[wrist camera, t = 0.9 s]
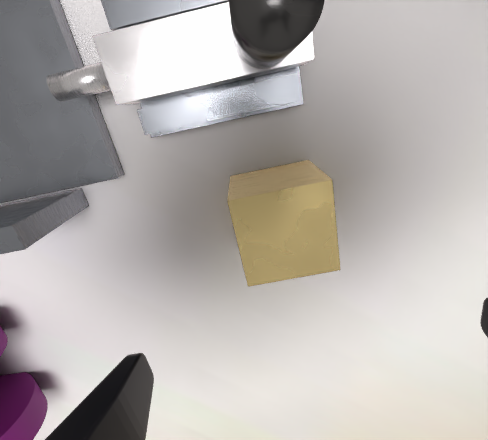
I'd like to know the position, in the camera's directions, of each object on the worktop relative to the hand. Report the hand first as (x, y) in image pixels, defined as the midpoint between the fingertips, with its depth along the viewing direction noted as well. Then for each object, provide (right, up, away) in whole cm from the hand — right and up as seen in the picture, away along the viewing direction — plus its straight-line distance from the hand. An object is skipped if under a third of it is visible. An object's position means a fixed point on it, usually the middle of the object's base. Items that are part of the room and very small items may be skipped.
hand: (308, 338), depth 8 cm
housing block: (0, +4, +11) cm, 12 cm away
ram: (-5, +11, +7) cm, 14 cm away
